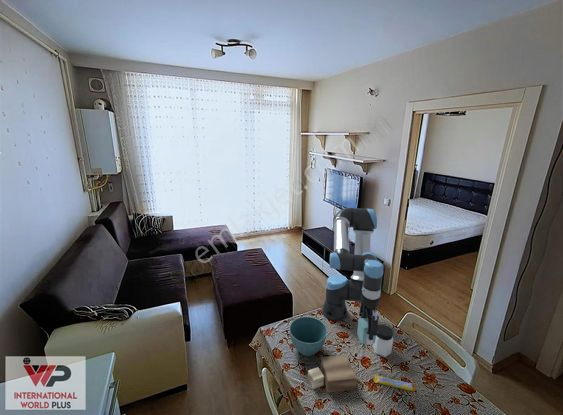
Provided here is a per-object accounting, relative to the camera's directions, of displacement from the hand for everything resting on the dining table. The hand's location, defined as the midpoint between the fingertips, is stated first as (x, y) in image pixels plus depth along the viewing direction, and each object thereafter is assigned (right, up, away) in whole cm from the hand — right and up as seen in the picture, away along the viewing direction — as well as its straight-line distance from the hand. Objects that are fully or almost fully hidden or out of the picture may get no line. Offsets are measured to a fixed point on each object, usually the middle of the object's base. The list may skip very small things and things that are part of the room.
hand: (365, 338), depth 119 cm
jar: (+11, -11, +10) cm, 19 cm away
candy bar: (+10, -17, -7) cm, 21 cm away
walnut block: (-14, -15, -5) cm, 21 cm away
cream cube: (-24, -16, -7) cm, 30 cm away
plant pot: (-26, -11, +10) cm, 30 cm away
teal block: (0, 0, 0) cm, 0 cm away
